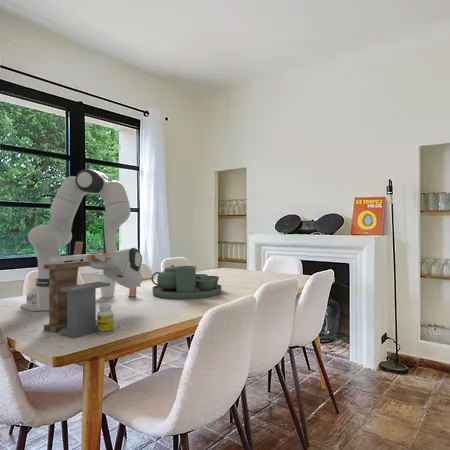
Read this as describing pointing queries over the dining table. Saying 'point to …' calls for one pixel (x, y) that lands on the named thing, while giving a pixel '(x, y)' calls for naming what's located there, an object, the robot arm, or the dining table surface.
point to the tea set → (185, 283)
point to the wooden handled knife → (74, 257)
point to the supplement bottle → (105, 320)
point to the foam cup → (107, 290)
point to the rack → (81, 309)
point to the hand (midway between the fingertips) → (91, 254)
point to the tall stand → (60, 292)
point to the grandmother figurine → (132, 292)
